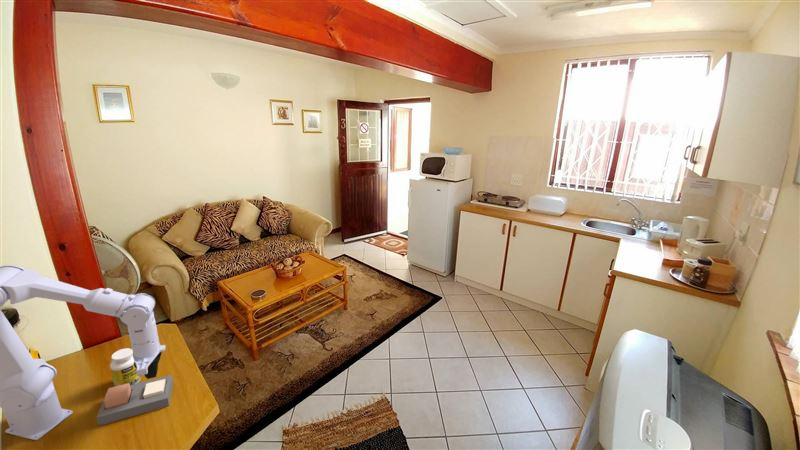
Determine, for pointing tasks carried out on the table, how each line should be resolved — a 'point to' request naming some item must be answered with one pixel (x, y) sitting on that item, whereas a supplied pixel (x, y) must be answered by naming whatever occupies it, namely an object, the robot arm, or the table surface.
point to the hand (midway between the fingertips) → (152, 376)
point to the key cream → (154, 388)
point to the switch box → (136, 402)
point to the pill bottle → (124, 368)
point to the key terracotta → (117, 396)
